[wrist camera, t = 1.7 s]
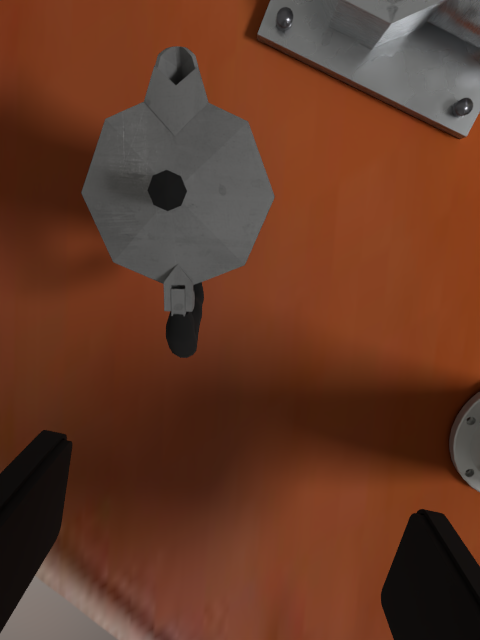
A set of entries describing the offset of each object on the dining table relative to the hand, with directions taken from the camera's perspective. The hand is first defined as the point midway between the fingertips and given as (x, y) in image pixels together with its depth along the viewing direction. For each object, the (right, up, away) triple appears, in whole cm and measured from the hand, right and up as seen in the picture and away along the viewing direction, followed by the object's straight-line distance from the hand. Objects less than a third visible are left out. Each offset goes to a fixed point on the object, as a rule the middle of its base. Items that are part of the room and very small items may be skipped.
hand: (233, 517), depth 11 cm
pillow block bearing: (+13, +30, +20) cm, 38 cm away
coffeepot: (-3, +14, +24) cm, 28 cm away
